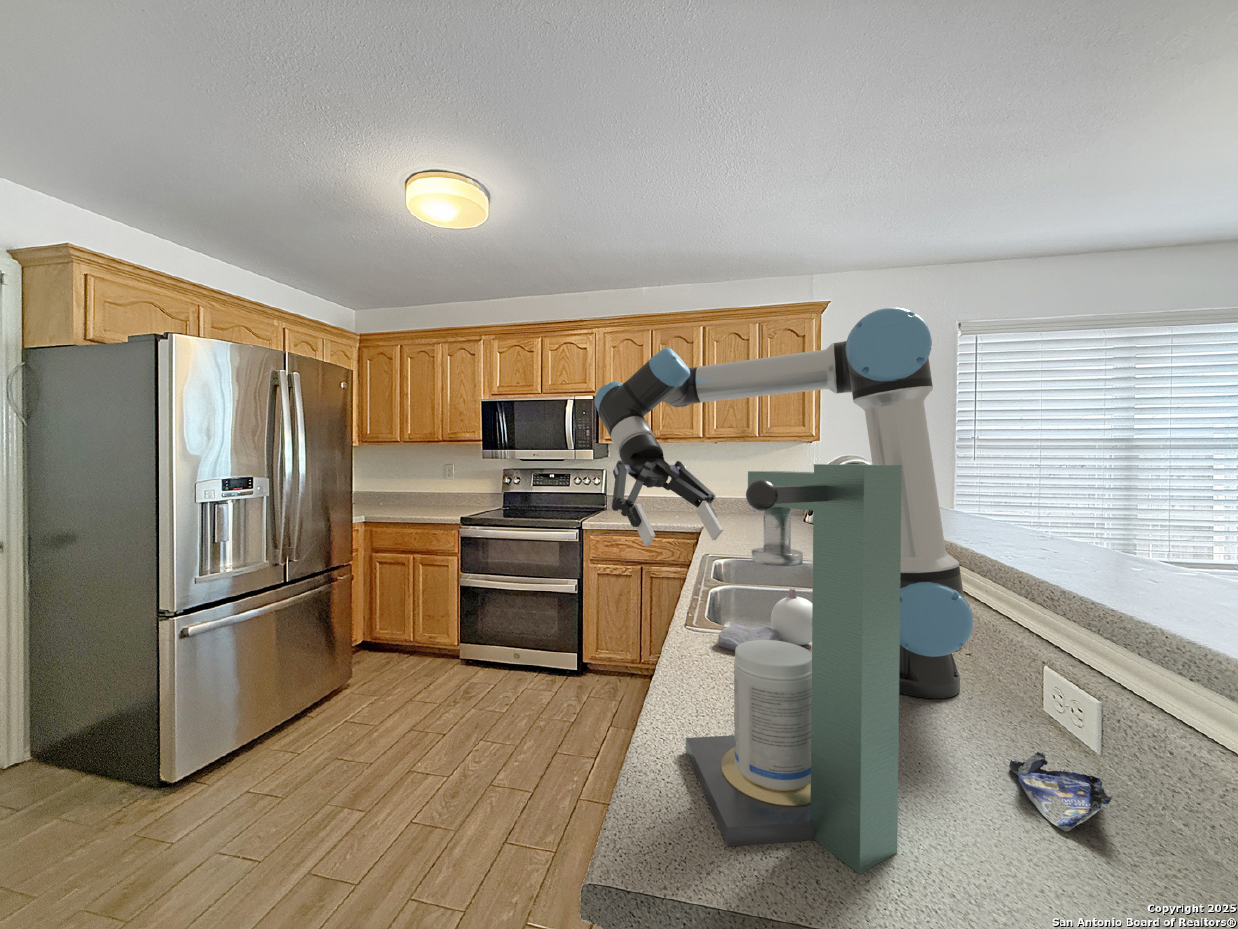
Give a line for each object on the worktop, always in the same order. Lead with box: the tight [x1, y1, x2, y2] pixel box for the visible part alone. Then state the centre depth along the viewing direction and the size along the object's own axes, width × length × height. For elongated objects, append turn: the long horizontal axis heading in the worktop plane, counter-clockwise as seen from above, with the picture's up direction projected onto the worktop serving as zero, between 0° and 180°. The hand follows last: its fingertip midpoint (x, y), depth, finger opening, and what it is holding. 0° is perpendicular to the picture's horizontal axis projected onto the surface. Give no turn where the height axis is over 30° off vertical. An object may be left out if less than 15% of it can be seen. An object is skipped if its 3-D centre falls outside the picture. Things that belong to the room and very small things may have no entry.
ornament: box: [770, 588, 812, 646], centre depth 117 cm, size 10×10×12 cm
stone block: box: [717, 623, 780, 652], centre depth 115 cm, size 12×5×10 cm
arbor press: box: [685, 463, 902, 875], centre depth 63 cm, size 18×23×40 cm
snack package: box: [1008, 751, 1113, 833], centre depth 64 cm, size 12×7×12 cm
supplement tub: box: [733, 640, 812, 791], centre depth 65 cm, size 10×10×15 cm
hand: (685, 538), depth 86 cm, fingers open, 13 cm apart
